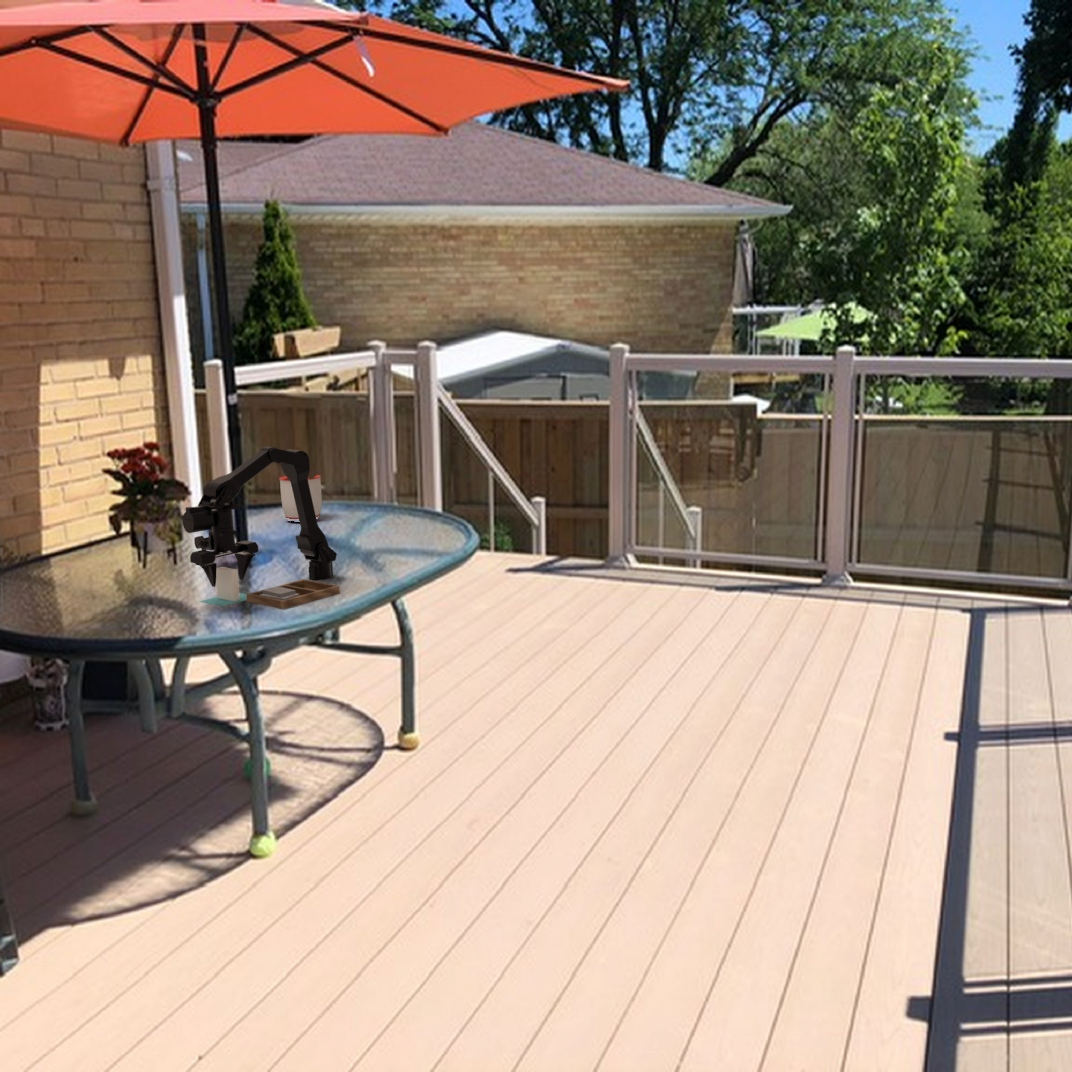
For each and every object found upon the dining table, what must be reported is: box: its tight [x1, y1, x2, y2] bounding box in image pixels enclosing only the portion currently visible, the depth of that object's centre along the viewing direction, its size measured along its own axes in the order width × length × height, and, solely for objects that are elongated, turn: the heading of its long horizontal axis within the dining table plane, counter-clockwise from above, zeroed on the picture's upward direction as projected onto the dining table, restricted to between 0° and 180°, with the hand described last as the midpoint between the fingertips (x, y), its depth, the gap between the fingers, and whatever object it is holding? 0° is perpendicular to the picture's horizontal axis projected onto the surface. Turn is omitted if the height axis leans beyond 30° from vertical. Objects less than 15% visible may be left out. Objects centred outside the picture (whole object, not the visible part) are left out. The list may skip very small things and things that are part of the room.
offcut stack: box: [260, 585, 299, 600], centre depth 299 cm, size 6×11×3 cm, turn 53°
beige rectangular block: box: [216, 566, 240, 601], centre depth 303 cm, size 2×7×8 cm, turn 52°
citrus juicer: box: [279, 474, 323, 519], centre depth 422 cm, size 16×17×20 cm
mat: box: [199, 592, 247, 607], centre depth 304 cm, size 12×10×1 cm
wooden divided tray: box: [245, 579, 341, 610], centre depth 304 cm, size 20×15×3 cm
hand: (227, 583), depth 303 cm, fingers open, 9 cm apart
